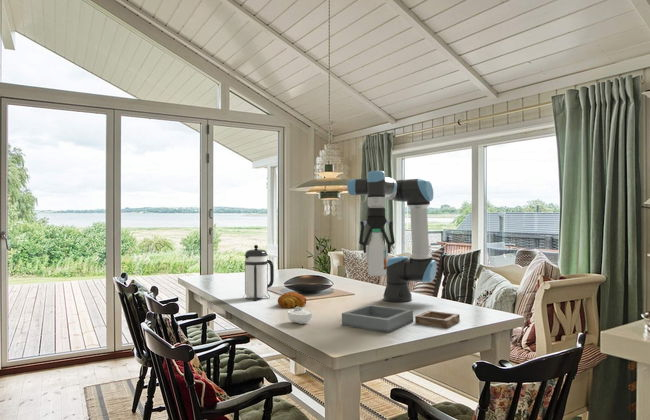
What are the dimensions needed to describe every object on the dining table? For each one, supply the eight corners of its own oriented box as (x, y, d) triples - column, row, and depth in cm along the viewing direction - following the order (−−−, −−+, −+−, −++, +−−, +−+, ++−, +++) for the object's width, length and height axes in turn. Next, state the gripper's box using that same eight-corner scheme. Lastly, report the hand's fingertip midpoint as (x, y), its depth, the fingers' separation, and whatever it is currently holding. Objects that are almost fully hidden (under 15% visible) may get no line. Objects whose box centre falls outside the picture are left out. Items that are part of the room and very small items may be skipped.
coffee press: (269, 301, 244) (269, 245, 244) (240, 301, 244) (240, 245, 244) (274, 295, 261) (273, 243, 261) (246, 295, 261) (246, 243, 262)
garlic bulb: (294, 327, 186) (294, 311, 186) (284, 321, 197) (284, 306, 197) (316, 324, 190) (316, 308, 190) (305, 319, 201) (305, 303, 201)
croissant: (273, 312, 227) (272, 296, 226) (286, 302, 241) (285, 287, 240) (300, 313, 222) (298, 297, 221) (311, 302, 236) (310, 287, 235)
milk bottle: (380, 277, 186) (379, 228, 186) (364, 275, 191) (364, 228, 191) (389, 275, 192) (389, 228, 192) (374, 273, 197) (373, 228, 197)
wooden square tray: (429, 317, 202) (428, 310, 202) (459, 321, 193) (459, 314, 193) (415, 323, 191) (415, 316, 191) (447, 328, 182) (447, 320, 182)
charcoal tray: (369, 315, 207) (369, 304, 207) (413, 321, 193) (412, 310, 193) (341, 325, 189) (341, 313, 189) (388, 333, 176) (388, 320, 176)
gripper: (351, 207, 190) (351, 261, 190) (400, 206, 186) (401, 262, 186) (353, 207, 197) (354, 259, 197) (401, 207, 193) (401, 260, 193)
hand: (377, 260), depth 191 cm, fingers closed on milk bottle, 8 cm apart
